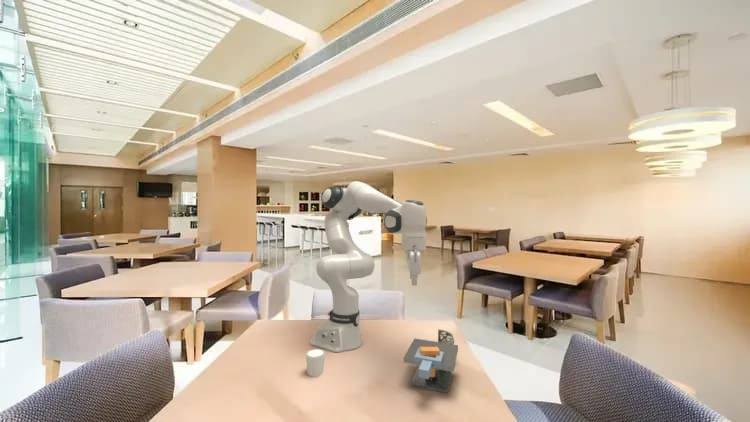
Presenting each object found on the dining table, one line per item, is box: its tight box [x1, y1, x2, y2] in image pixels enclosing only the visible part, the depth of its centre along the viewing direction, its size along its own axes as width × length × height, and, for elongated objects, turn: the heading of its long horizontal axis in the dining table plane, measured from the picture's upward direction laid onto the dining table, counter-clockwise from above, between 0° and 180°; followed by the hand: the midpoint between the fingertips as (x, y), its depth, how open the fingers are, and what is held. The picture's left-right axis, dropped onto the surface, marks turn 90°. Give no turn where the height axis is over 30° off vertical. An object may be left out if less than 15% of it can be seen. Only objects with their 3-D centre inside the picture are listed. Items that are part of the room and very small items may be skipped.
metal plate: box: [403, 338, 459, 395], centre depth 106 cm, size 16×16×10 cm
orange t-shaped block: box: [420, 347, 440, 377], centre depth 101 cm, size 6×3×8 cm, turn 92°
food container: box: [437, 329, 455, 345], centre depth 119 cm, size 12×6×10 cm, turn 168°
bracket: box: [414, 348, 444, 379], centre depth 98 cm, size 8×13×3 cm, turn 160°
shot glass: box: [305, 348, 326, 377], centre depth 110 cm, size 7×7×7 cm
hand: (413, 281), depth 113 cm, fingers open, 8 cm apart
